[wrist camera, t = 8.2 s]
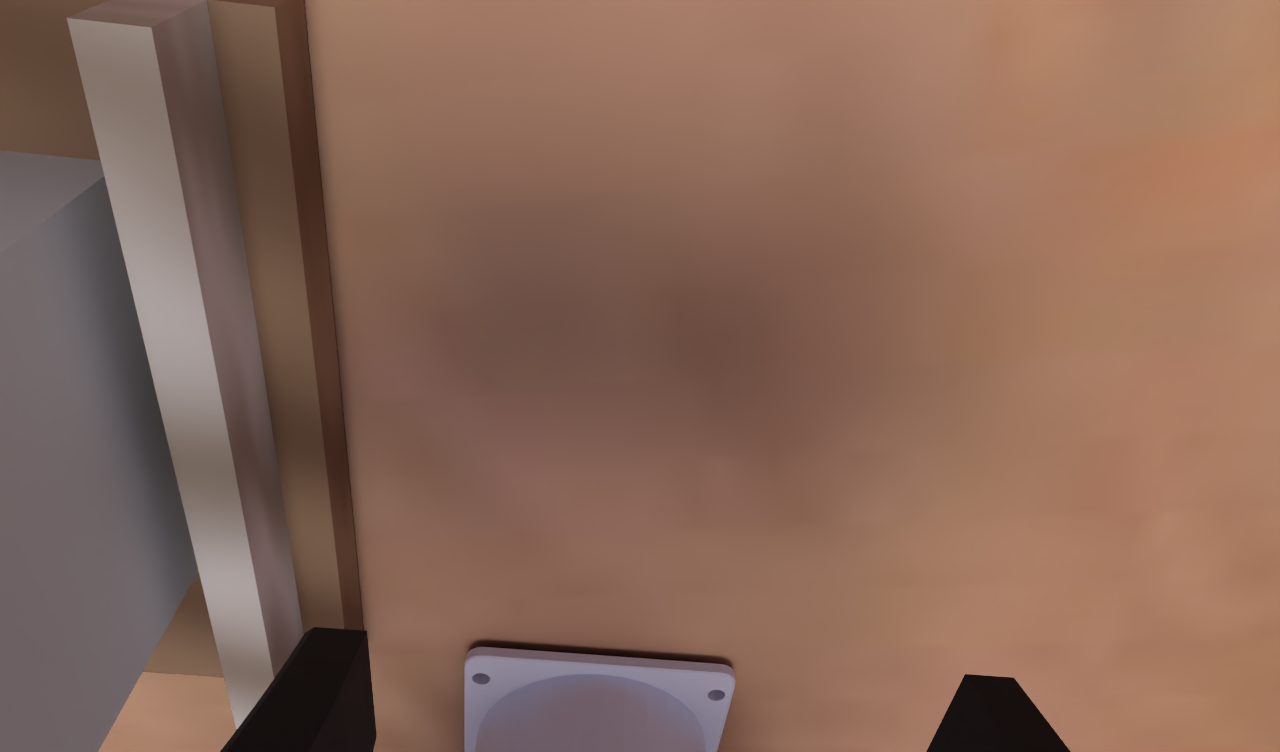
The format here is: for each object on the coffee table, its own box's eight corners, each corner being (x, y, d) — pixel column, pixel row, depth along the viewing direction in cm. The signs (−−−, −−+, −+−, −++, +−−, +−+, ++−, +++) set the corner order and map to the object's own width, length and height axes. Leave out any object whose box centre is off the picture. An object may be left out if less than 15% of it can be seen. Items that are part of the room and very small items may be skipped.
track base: (364, 642, 26) (330, 751, 23) (47, 619, 25) (-29, 728, 22) (303, -11, 16) (227, 36, 13) (-224, -73, 15) (-426, -38, 12)
